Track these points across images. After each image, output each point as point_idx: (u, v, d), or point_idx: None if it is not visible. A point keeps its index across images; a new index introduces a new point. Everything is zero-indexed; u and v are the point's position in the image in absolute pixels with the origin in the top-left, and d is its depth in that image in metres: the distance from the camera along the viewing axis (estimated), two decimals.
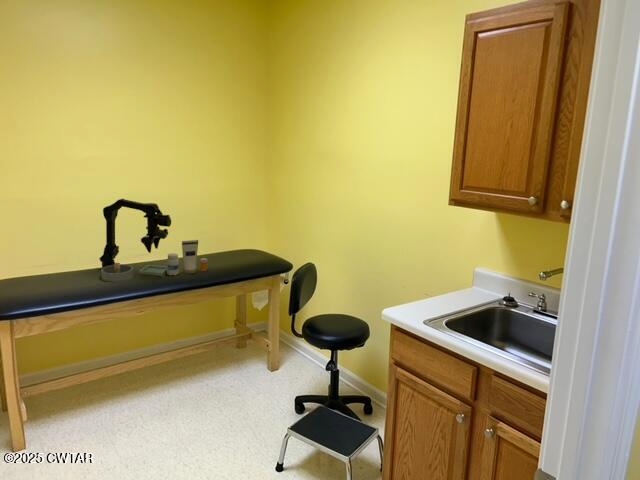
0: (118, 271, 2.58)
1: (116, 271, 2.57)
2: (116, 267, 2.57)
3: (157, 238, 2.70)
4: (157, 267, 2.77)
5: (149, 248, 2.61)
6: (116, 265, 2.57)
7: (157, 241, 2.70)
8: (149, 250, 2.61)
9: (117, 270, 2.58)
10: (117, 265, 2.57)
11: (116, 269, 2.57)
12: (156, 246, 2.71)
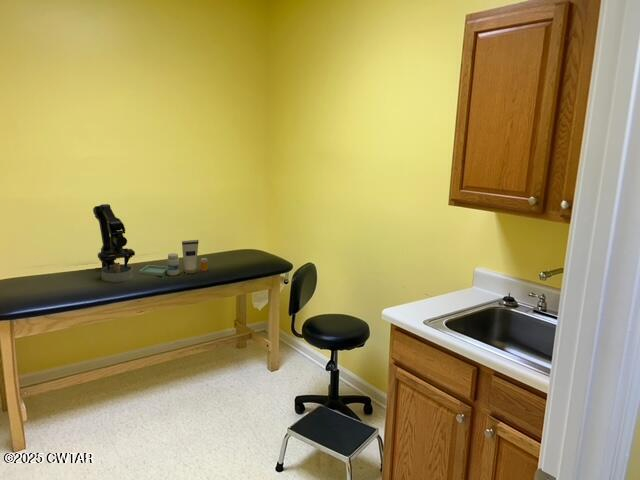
0: (118, 271, 2.58)
1: (116, 271, 2.57)
2: (116, 267, 2.57)
3: (126, 257, 2.60)
4: (157, 267, 2.77)
5: (106, 265, 2.54)
6: (116, 265, 2.57)
7: (125, 260, 2.60)
8: (107, 267, 2.55)
9: (117, 270, 2.58)
10: (117, 265, 2.57)
11: (116, 269, 2.57)
12: (125, 265, 2.61)
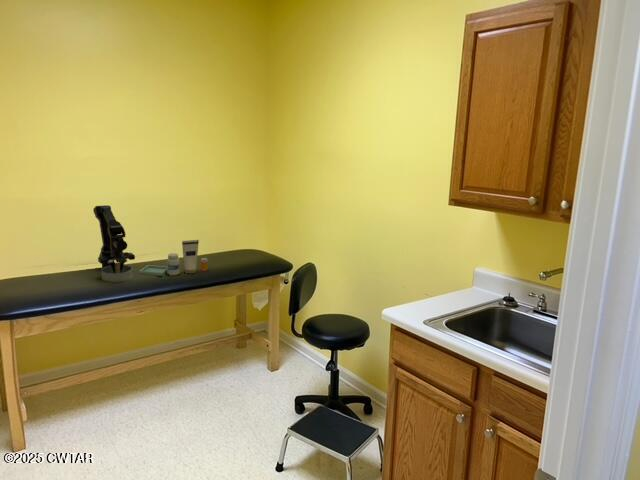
0: (118, 271, 2.58)
1: (116, 271, 2.57)
2: (116, 267, 2.57)
3: (121, 261, 2.58)
4: (157, 267, 2.77)
5: (112, 268, 2.56)
6: (116, 265, 2.57)
7: (120, 264, 2.59)
8: (113, 270, 2.57)
9: (117, 270, 2.58)
10: (117, 265, 2.57)
11: (116, 269, 2.57)
12: (120, 269, 2.60)
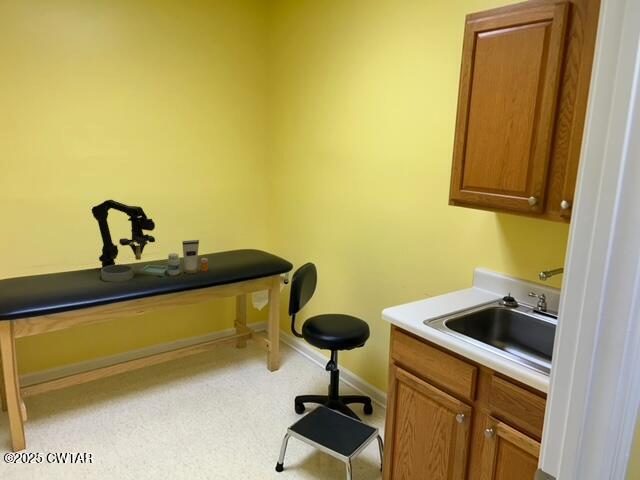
0: (139, 253, 2.62)
1: (137, 253, 2.62)
2: (137, 249, 2.61)
3: (141, 244, 2.63)
4: (157, 267, 2.77)
5: (133, 250, 2.61)
6: (137, 247, 2.61)
7: (141, 247, 2.63)
8: (134, 252, 2.61)
9: (138, 253, 2.62)
10: (138, 247, 2.61)
11: (137, 251, 2.61)
12: None
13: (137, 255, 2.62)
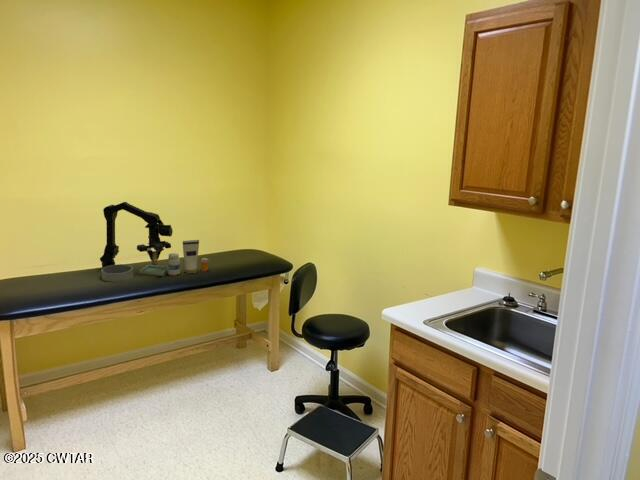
0: (155, 259, 2.69)
1: (153, 259, 2.69)
2: (153, 255, 2.68)
3: (158, 250, 2.70)
4: (157, 267, 2.77)
5: (150, 256, 2.68)
6: (154, 253, 2.68)
7: (157, 253, 2.70)
8: (150, 258, 2.69)
9: (155, 258, 2.69)
10: (154, 253, 2.68)
11: (153, 257, 2.69)
12: None
13: (154, 261, 2.69)
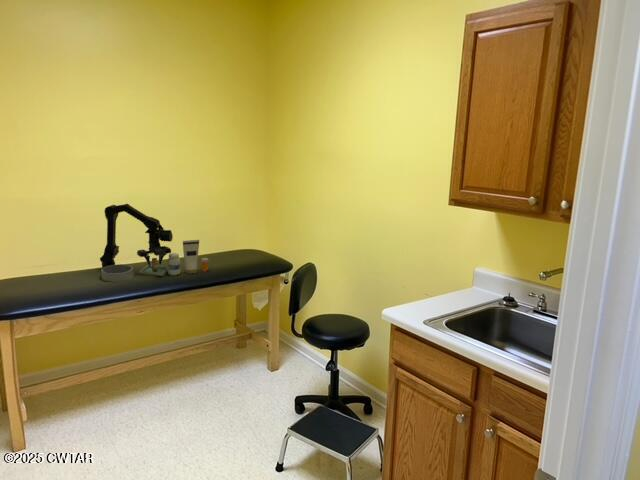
0: (155, 266, 2.71)
1: (154, 266, 2.70)
2: (154, 262, 2.69)
3: (160, 254, 2.72)
4: (157, 267, 2.77)
5: (147, 261, 2.68)
6: (154, 260, 2.69)
7: (160, 257, 2.72)
8: (148, 263, 2.68)
9: (155, 265, 2.70)
10: (155, 260, 2.69)
11: (154, 264, 2.70)
12: (159, 262, 2.73)
13: (154, 267, 2.70)
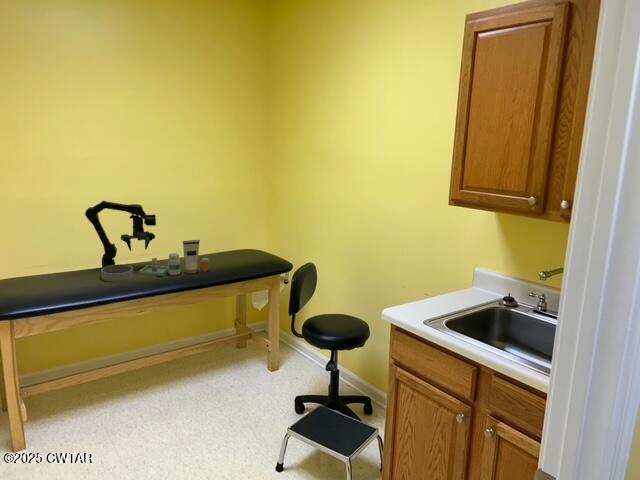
0: (155, 266, 2.71)
1: (154, 266, 2.70)
2: (154, 262, 2.69)
3: (146, 239, 2.76)
4: (157, 267, 2.77)
5: (128, 246, 2.71)
6: (154, 260, 2.69)
7: (146, 242, 2.77)
8: (129, 248, 2.71)
9: (155, 265, 2.70)
10: (155, 260, 2.69)
11: (154, 264, 2.70)
12: (145, 247, 2.78)
13: (154, 267, 2.70)
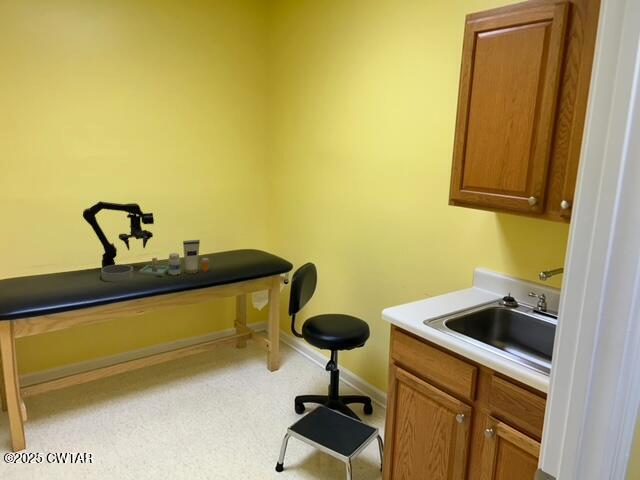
0: (155, 266, 2.71)
1: (154, 266, 2.70)
2: (154, 262, 2.69)
3: (144, 238, 2.77)
4: (157, 267, 2.77)
5: (127, 245, 2.71)
6: (154, 260, 2.69)
7: (144, 241, 2.78)
8: (127, 247, 2.72)
9: (155, 265, 2.70)
10: (155, 260, 2.69)
11: (154, 264, 2.70)
12: (143, 246, 2.79)
13: (154, 267, 2.70)
